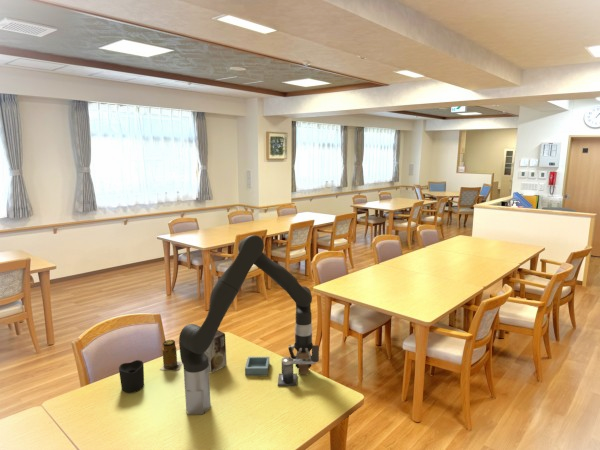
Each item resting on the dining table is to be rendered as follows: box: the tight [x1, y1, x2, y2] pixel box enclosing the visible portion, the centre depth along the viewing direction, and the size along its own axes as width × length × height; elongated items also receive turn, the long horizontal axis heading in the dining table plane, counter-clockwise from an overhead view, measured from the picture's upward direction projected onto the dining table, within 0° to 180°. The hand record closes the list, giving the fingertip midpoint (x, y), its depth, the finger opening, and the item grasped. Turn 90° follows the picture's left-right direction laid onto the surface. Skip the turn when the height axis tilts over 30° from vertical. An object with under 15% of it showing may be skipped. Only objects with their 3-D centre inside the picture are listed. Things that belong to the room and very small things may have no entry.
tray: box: [244, 356, 270, 377], centre depth 178 cm, size 10×10×4 cm
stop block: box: [297, 353, 310, 375], centre depth 175 cm, size 4×4×10 cm
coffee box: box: [204, 329, 227, 374], centre depth 179 cm, size 9×6×16 cm
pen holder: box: [118, 359, 145, 394], centre depth 164 cm, size 9×9×10 cm
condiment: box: [160, 339, 183, 371], centre depth 180 cm, size 7×8×12 cm
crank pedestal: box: [277, 364, 298, 387], centre depth 176 cm, size 24×8×8 cm, turn 0°
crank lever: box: [281, 345, 320, 366], centre depth 167 cm, size 16×5×7 cm, turn 90°
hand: (303, 367), depth 176 cm, fingers closed on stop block, 4 cm apart
